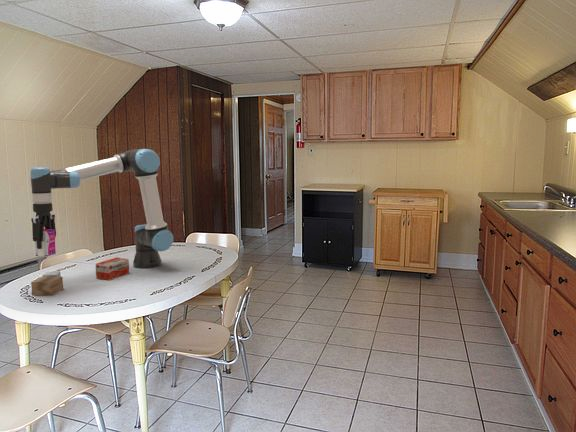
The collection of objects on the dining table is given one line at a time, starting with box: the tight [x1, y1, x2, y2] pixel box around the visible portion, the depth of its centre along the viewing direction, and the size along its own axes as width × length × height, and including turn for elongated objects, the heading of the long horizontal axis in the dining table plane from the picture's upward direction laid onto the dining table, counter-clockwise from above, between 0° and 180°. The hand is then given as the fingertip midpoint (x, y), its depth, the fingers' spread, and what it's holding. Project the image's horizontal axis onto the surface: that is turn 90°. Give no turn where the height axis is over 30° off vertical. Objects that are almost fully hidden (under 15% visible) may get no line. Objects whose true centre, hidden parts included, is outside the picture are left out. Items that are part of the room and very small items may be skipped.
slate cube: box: [42, 271, 62, 277], centre depth 206 cm, size 6×6×6 cm
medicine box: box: [95, 256, 130, 281], centre depth 222 cm, size 15×8×8 cm, turn 159°
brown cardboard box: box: [30, 275, 64, 296], centre depth 196 cm, size 9×9×6 cm
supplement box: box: [34, 228, 57, 258], centre depth 193 cm, size 6×6×12 cm
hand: (46, 254), depth 194 cm, fingers closed on supplement box, 6 cm apart
